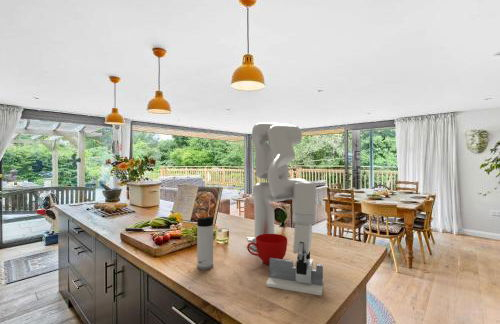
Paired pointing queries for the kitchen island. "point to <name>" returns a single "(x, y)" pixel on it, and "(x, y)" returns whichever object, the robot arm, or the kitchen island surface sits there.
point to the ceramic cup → (270, 247)
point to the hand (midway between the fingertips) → (303, 267)
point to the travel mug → (205, 243)
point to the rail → (293, 271)
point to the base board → (295, 286)
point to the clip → (306, 277)
